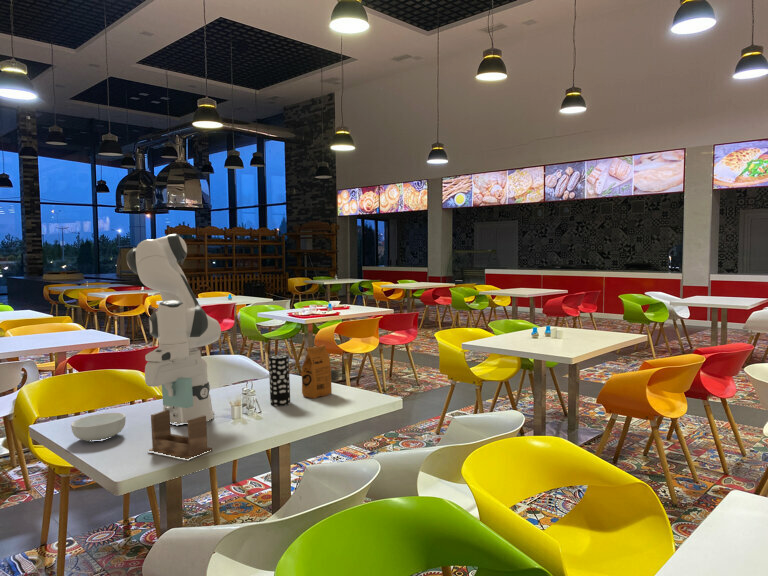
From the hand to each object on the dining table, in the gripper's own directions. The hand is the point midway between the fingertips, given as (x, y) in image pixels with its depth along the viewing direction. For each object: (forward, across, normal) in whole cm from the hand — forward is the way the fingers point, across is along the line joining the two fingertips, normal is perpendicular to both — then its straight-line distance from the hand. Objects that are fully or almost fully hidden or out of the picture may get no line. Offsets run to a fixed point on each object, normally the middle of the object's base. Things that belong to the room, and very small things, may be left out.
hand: (177, 394), depth 176 cm
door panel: (+4, 0, 0) cm, 4 cm away
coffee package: (+19, -78, -3) cm, 80 cm away
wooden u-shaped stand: (+19, 0, 0) cm, 19 cm away
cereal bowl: (+18, +2, -38) cm, 43 cm away
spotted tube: (+19, -60, -9) cm, 64 cm away
